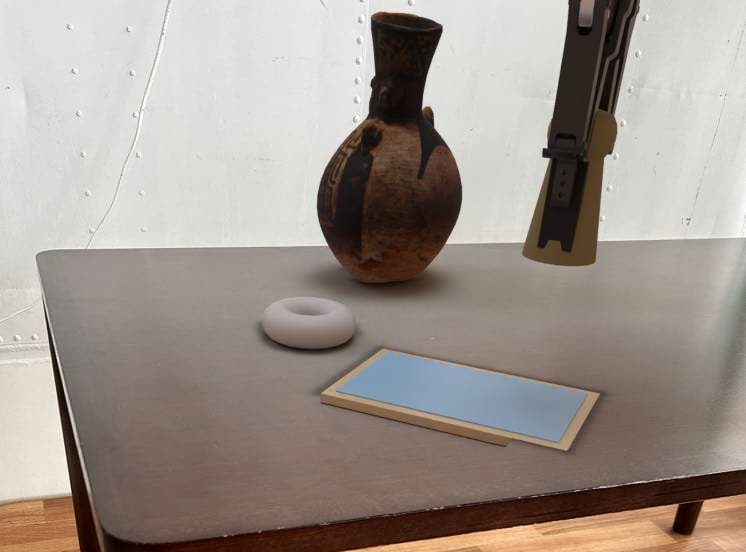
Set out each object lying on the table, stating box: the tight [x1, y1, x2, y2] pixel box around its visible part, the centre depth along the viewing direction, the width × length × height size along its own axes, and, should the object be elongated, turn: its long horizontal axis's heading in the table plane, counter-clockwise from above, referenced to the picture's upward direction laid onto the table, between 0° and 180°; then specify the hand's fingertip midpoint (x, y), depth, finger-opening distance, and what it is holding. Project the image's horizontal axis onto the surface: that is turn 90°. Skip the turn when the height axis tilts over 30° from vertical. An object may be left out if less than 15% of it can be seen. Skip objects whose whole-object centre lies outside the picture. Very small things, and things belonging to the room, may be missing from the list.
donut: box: [261, 296, 357, 350], centre depth 86 cm, size 10×3×10 cm
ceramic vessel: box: [316, 10, 463, 284], centre depth 101 cm, size 21×18×30 cm
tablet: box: [320, 348, 601, 452], centre depth 74 cm, size 22×14×1 cm, turn 64°
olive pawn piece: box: [521, 109, 618, 267], centre depth 65 cm, size 6×6×11 cm
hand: (561, 243), depth 67 cm, fingers closed on olive pawn piece, 4 cm apart
